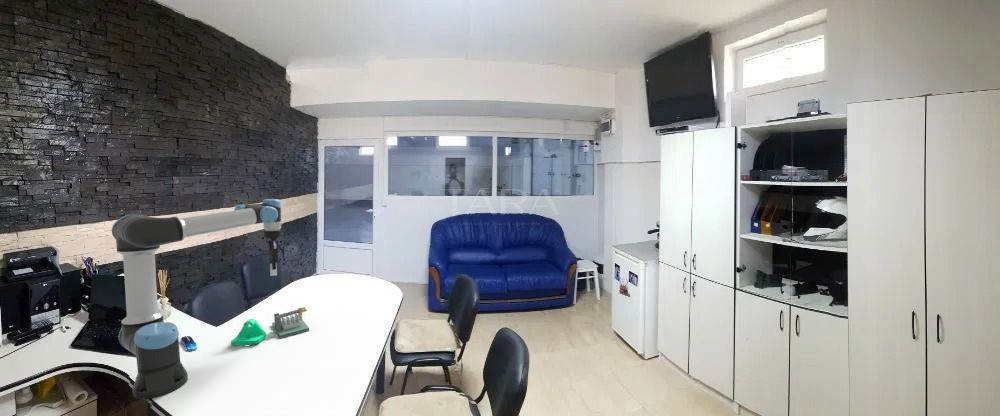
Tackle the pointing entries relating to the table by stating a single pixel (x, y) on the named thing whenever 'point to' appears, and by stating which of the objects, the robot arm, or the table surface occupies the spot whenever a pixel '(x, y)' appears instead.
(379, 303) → the table surface
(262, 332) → the camera mount
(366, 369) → the table surface
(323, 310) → the table surface
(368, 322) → the table surface
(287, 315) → the grey lever handle
